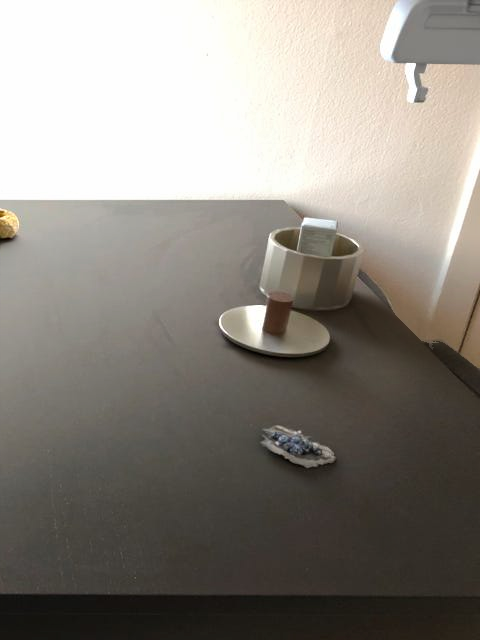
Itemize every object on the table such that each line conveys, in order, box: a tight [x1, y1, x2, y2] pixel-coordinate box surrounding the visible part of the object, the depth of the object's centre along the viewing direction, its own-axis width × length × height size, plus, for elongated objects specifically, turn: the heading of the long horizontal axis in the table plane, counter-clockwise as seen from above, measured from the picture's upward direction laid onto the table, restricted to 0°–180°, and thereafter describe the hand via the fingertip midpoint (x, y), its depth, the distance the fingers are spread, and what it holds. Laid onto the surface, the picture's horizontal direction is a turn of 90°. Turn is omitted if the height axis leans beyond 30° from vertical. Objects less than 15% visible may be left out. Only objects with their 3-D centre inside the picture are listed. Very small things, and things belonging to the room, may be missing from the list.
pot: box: [259, 226, 365, 312], centre depth 116 cm, size 14×14×8 cm
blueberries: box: [260, 425, 337, 469], centre depth 80 cm, size 7×8×2 cm
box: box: [297, 217, 339, 257], centre depth 115 cm, size 5×4×11 cm
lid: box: [218, 292, 331, 358], centre depth 103 cm, size 15×15×6 cm
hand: (452, 102), depth 93 cm, fingers open, 8 cm apart
